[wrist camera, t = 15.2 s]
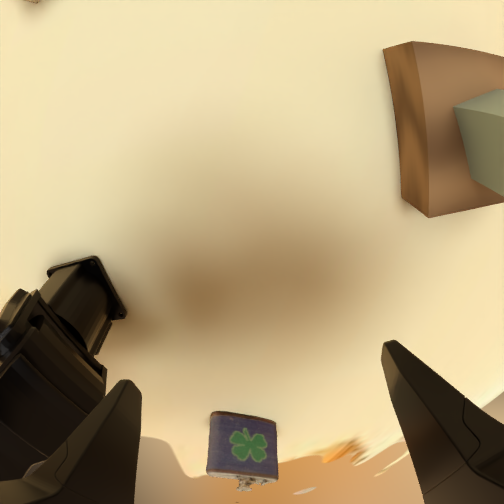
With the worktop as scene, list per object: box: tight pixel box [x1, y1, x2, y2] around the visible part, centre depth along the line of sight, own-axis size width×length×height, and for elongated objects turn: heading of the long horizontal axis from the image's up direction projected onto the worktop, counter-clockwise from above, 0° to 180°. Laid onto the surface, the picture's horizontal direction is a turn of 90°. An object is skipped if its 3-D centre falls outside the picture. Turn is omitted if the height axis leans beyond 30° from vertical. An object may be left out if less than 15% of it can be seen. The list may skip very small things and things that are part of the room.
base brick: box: [383, 41, 504, 218], centre depth 15 cm, size 11×11×4 cm
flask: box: [206, 411, 278, 491], centre depth 29 cm, size 9×3×11 cm, turn 66°
